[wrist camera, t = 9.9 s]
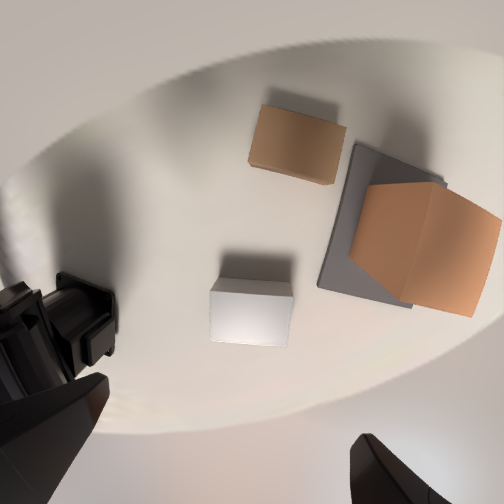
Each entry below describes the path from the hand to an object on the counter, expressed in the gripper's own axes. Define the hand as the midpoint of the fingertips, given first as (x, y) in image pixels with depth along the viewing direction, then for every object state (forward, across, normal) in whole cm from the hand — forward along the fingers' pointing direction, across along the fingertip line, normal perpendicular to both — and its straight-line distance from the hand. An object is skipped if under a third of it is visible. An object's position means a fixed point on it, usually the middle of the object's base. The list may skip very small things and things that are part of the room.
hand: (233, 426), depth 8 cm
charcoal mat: (+12, -8, -7) cm, 16 cm away
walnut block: (+12, 0, -10) cm, 16 cm away
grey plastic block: (+12, 0, 0) cm, 12 cm away
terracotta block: (+11, -8, -7) cm, 16 cm away
